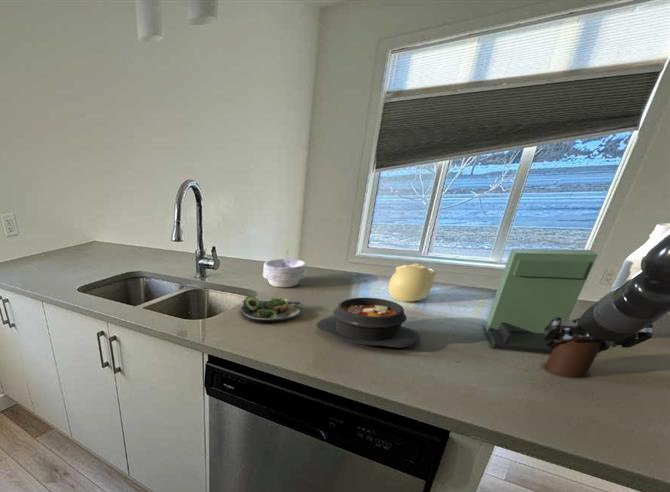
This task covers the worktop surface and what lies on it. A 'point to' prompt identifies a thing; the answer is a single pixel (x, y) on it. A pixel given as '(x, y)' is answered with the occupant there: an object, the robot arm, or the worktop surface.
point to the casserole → (370, 323)
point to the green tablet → (536, 296)
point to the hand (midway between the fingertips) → (572, 346)
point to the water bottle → (639, 256)
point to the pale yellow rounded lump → (411, 282)
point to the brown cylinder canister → (573, 357)
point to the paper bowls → (284, 272)
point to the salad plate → (268, 310)
